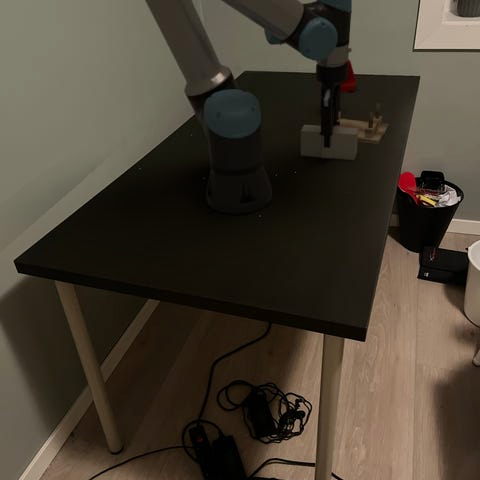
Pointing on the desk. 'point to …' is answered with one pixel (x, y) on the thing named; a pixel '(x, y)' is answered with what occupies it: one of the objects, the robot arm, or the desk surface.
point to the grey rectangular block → (342, 142)
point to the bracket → (349, 80)
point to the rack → (367, 127)
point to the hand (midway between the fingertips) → (329, 153)
